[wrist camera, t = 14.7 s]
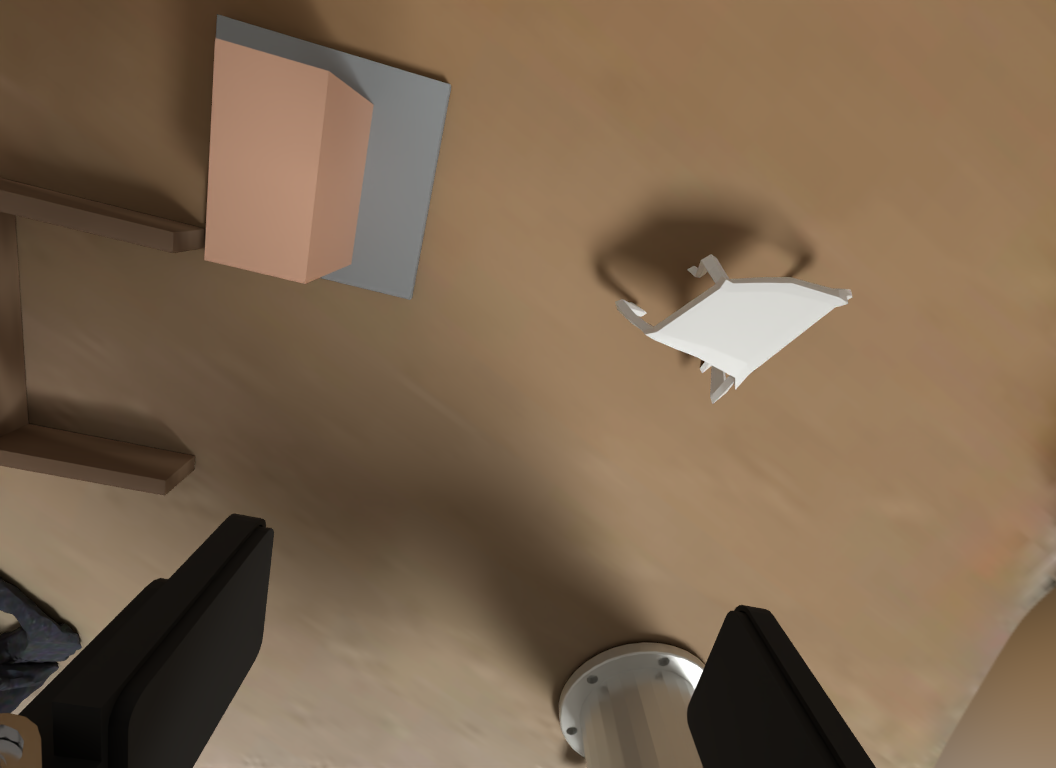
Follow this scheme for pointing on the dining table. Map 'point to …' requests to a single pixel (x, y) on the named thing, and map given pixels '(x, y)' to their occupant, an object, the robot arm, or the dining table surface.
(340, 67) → the grey mat
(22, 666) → the dark slate chunk
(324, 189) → the terracotta block
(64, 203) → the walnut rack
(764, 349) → the white legged piece
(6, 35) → the dining table surface
